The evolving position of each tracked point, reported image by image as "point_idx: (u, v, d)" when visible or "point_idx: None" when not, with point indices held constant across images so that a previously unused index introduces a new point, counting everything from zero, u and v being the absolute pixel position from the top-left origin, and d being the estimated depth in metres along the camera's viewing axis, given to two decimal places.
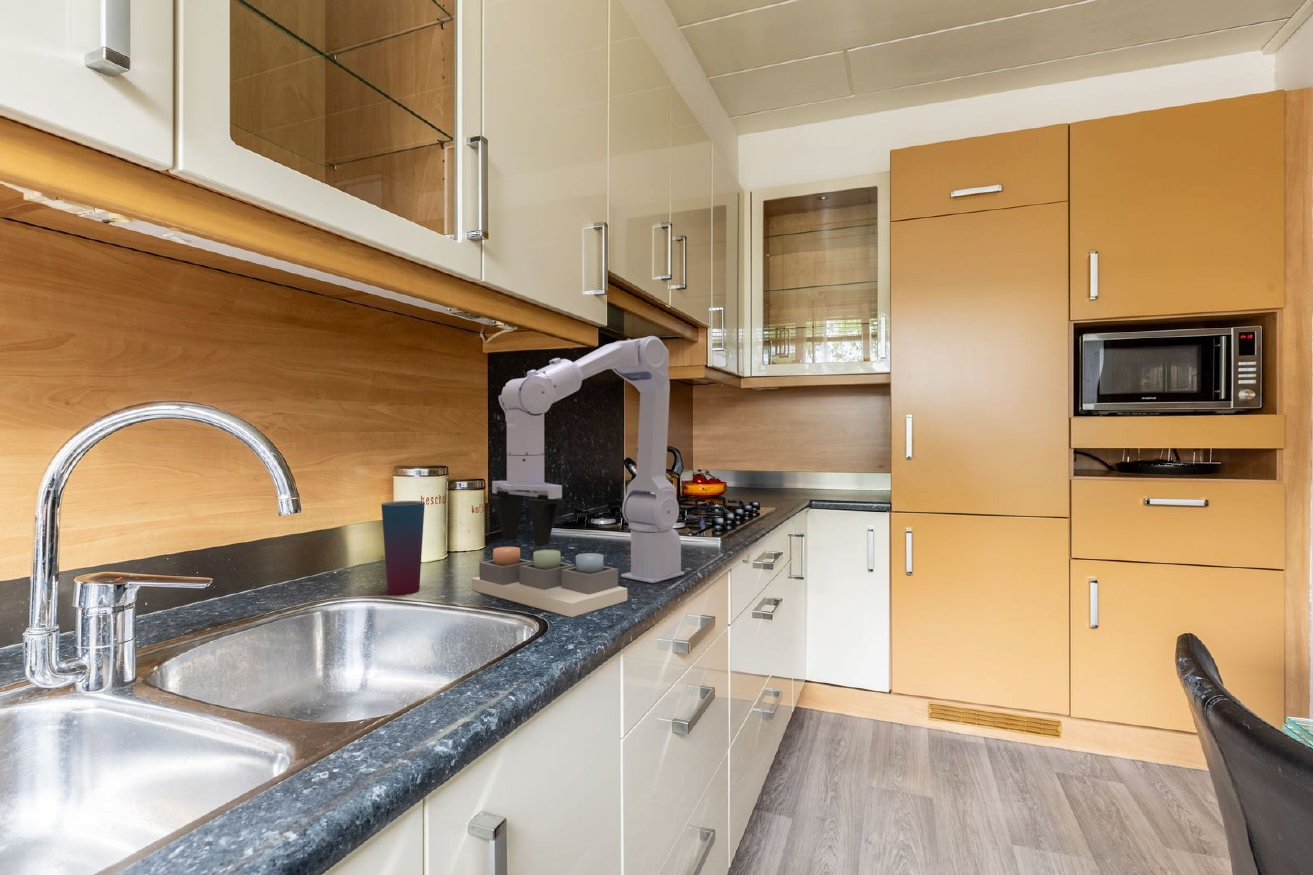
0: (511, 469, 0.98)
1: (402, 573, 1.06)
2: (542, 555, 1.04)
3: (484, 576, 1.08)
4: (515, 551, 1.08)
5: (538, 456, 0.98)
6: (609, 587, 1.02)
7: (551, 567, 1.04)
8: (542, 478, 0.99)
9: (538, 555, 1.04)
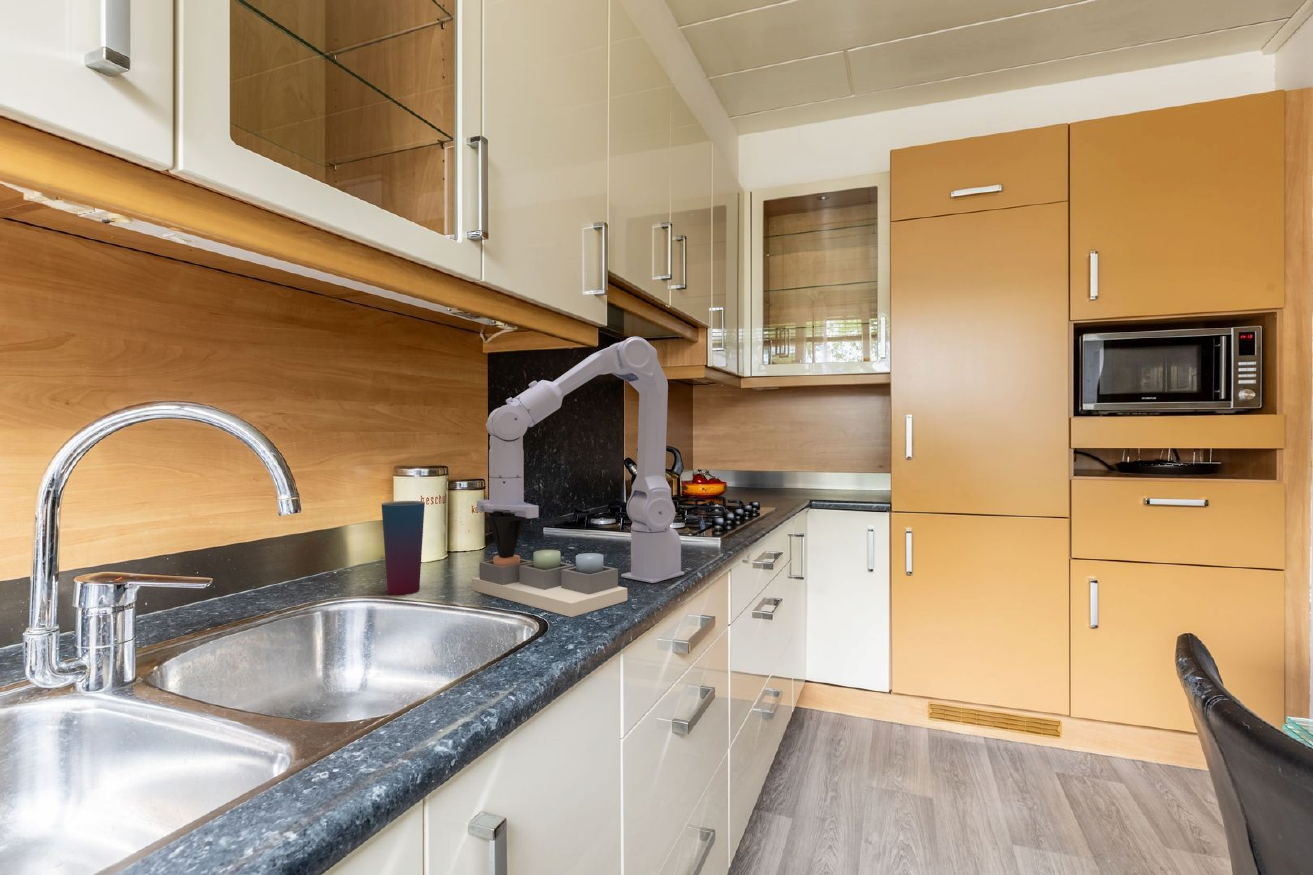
0: (492, 491, 1.07)
1: (402, 573, 1.06)
2: (542, 555, 1.04)
3: (484, 576, 1.08)
4: (515, 559, 1.08)
5: (517, 478, 1.07)
6: (609, 587, 1.02)
7: (551, 567, 1.04)
8: (521, 498, 1.08)
9: (538, 555, 1.04)
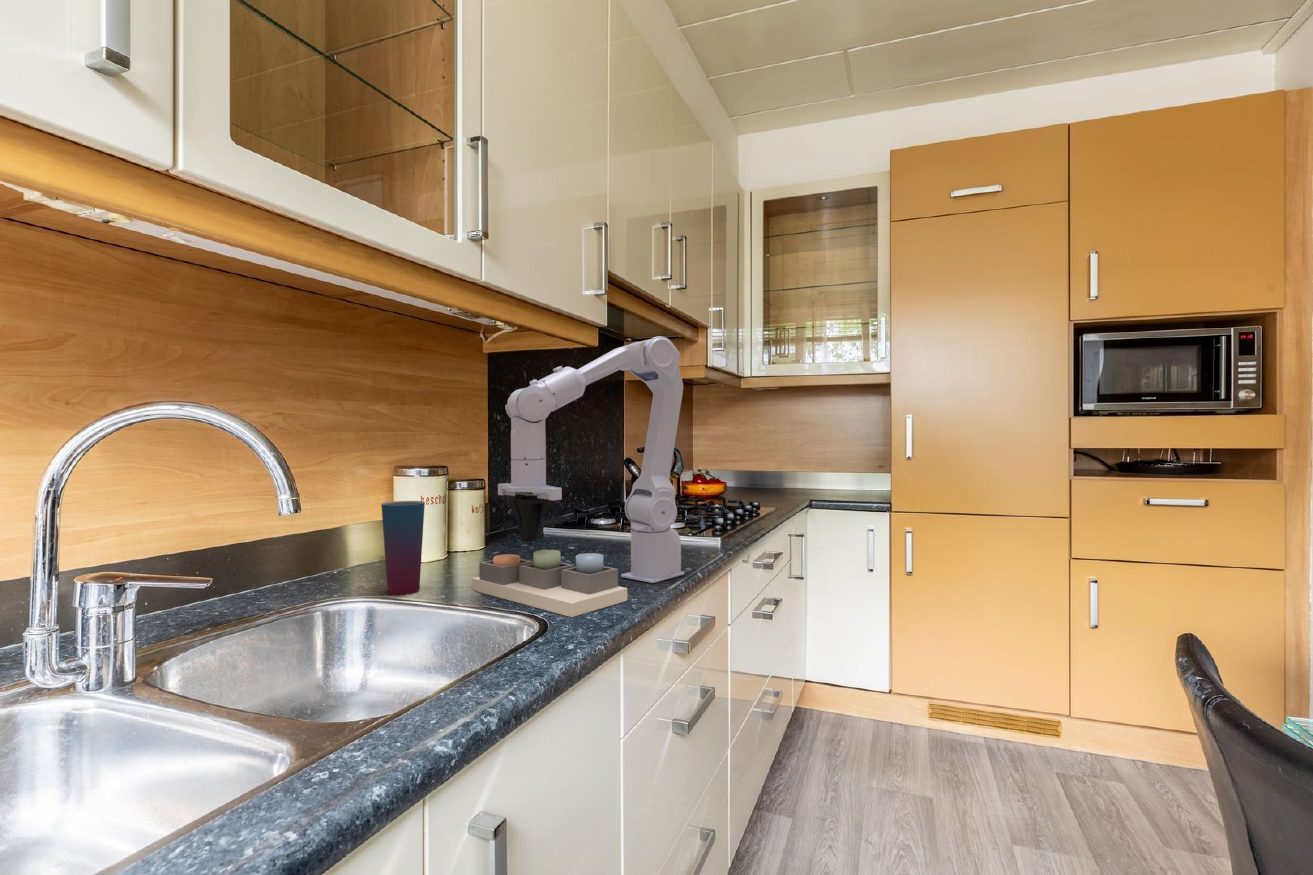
0: (514, 473, 1.05)
1: (402, 573, 1.06)
2: (542, 555, 1.04)
3: (484, 576, 1.08)
4: (515, 559, 1.08)
5: (540, 460, 1.06)
6: (609, 587, 1.02)
7: (551, 567, 1.04)
8: (544, 481, 1.07)
9: (538, 555, 1.04)
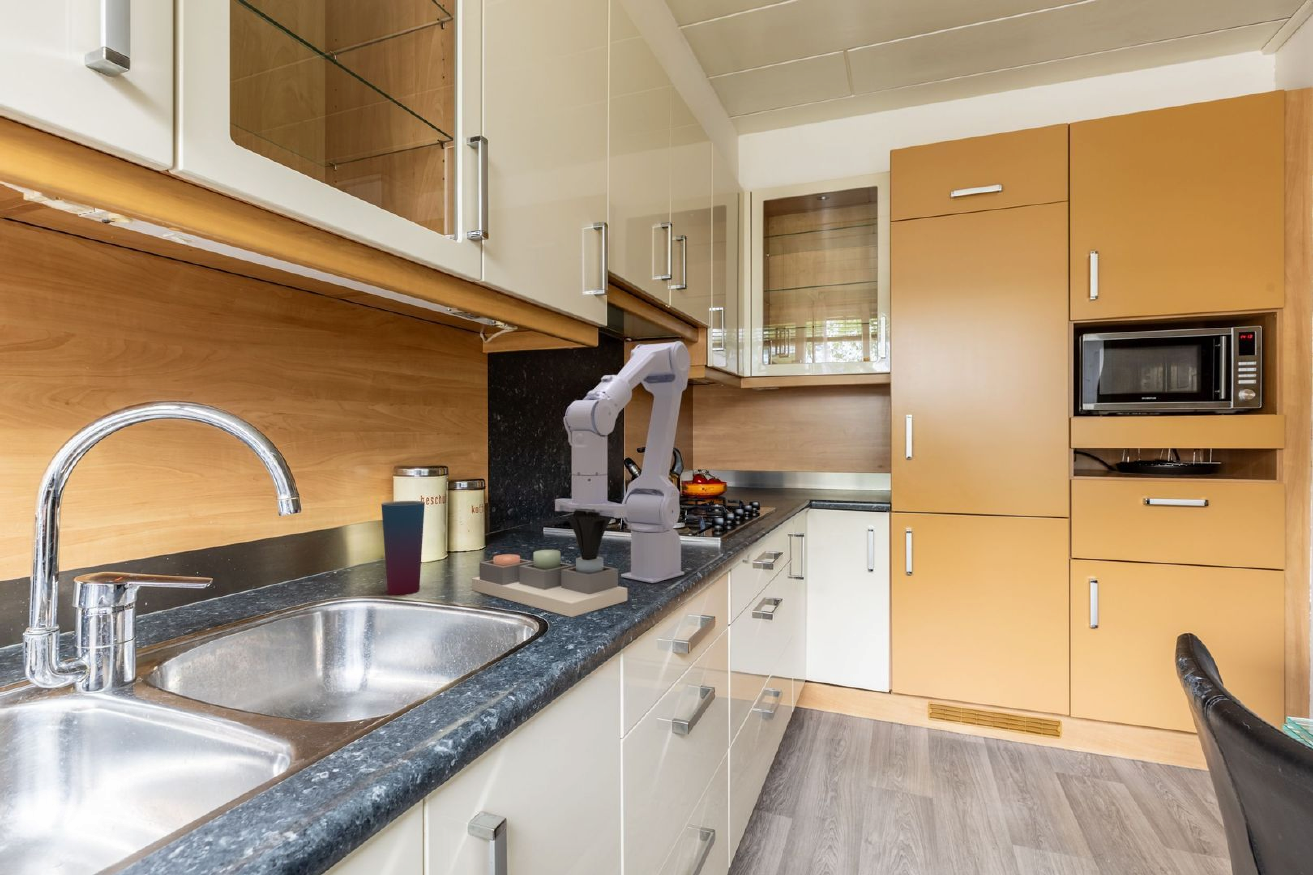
0: (576, 489, 1.01)
1: (402, 573, 1.06)
2: (542, 555, 1.04)
3: (484, 576, 1.08)
4: (515, 559, 1.08)
5: (602, 476, 1.01)
6: (609, 587, 1.02)
7: (551, 567, 1.04)
8: (606, 497, 1.02)
9: (538, 555, 1.04)
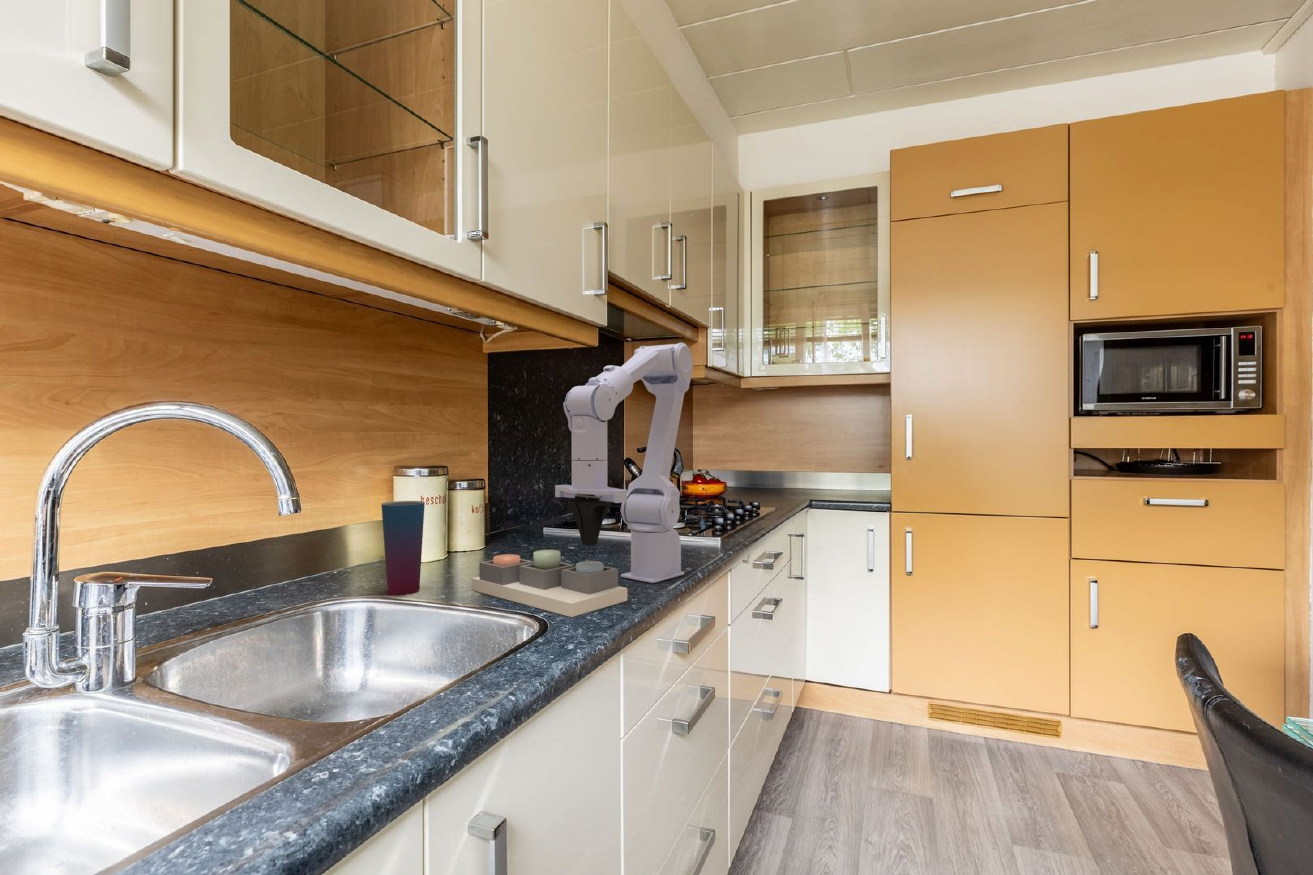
0: (576, 474, 1.01)
1: (402, 573, 1.06)
2: (542, 555, 1.04)
3: (484, 576, 1.08)
4: (515, 559, 1.08)
5: (602, 461, 1.01)
6: (609, 587, 1.02)
7: (551, 567, 1.04)
8: (606, 482, 1.02)
9: (538, 555, 1.04)
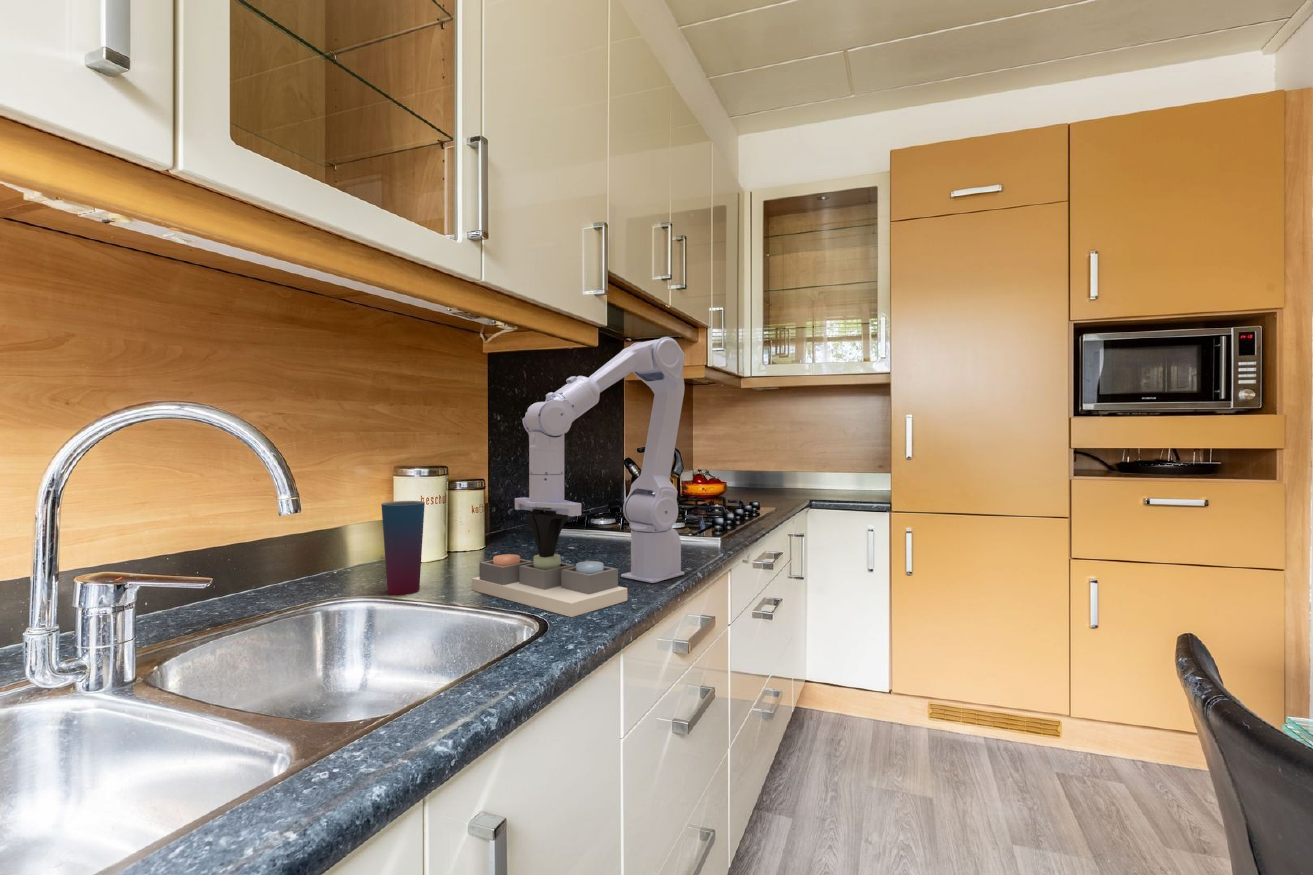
0: (533, 488, 1.04)
1: (402, 573, 1.06)
2: (542, 559, 1.04)
3: (484, 576, 1.08)
4: (515, 559, 1.08)
5: (559, 475, 1.04)
6: (609, 587, 1.02)
7: None
8: (562, 496, 1.05)
9: (538, 559, 1.04)
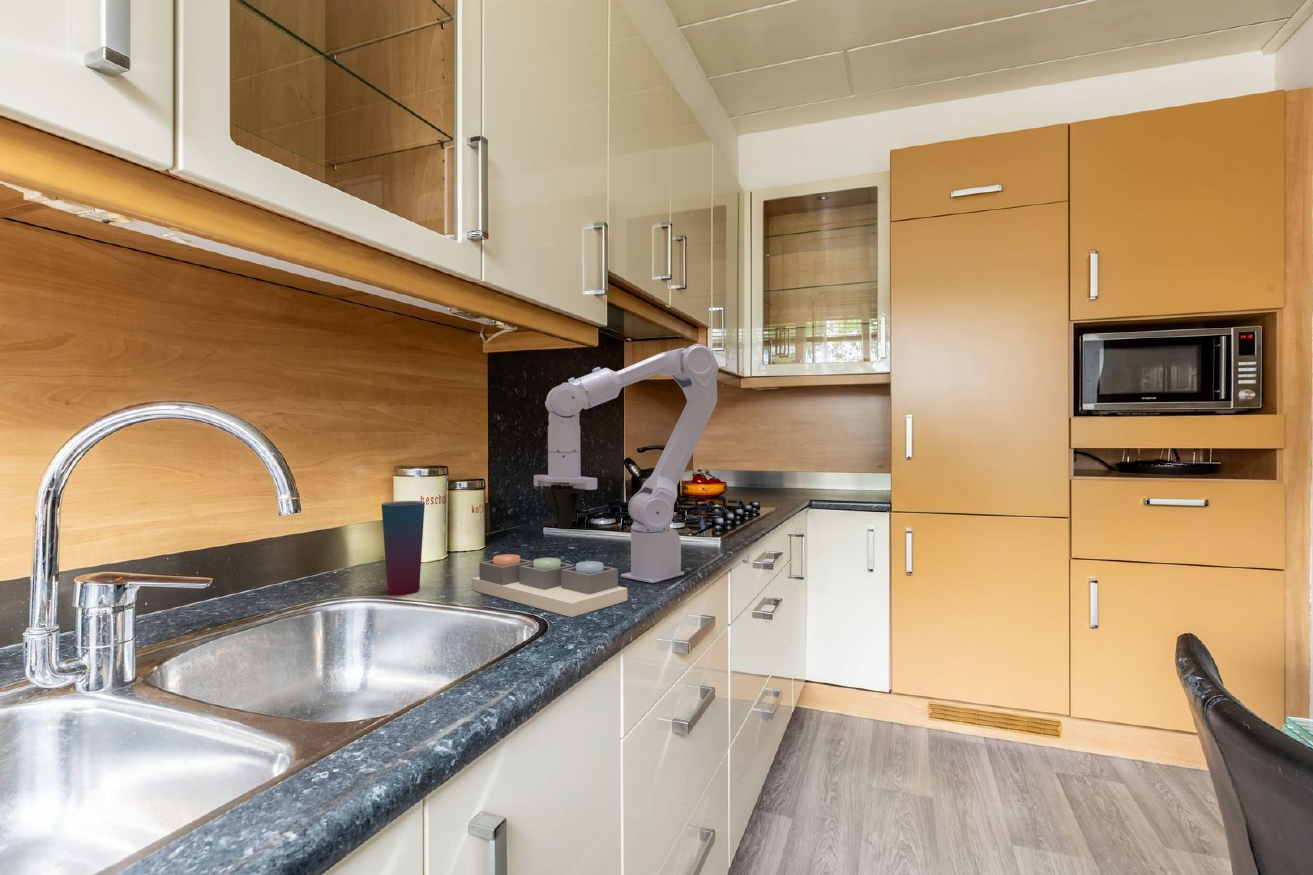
0: (552, 464, 1.12)
1: (402, 573, 1.06)
2: (542, 563, 1.04)
3: (484, 576, 1.08)
4: (515, 559, 1.08)
5: (576, 453, 1.13)
6: (609, 587, 1.02)
7: None
8: (579, 472, 1.14)
9: (538, 563, 1.04)
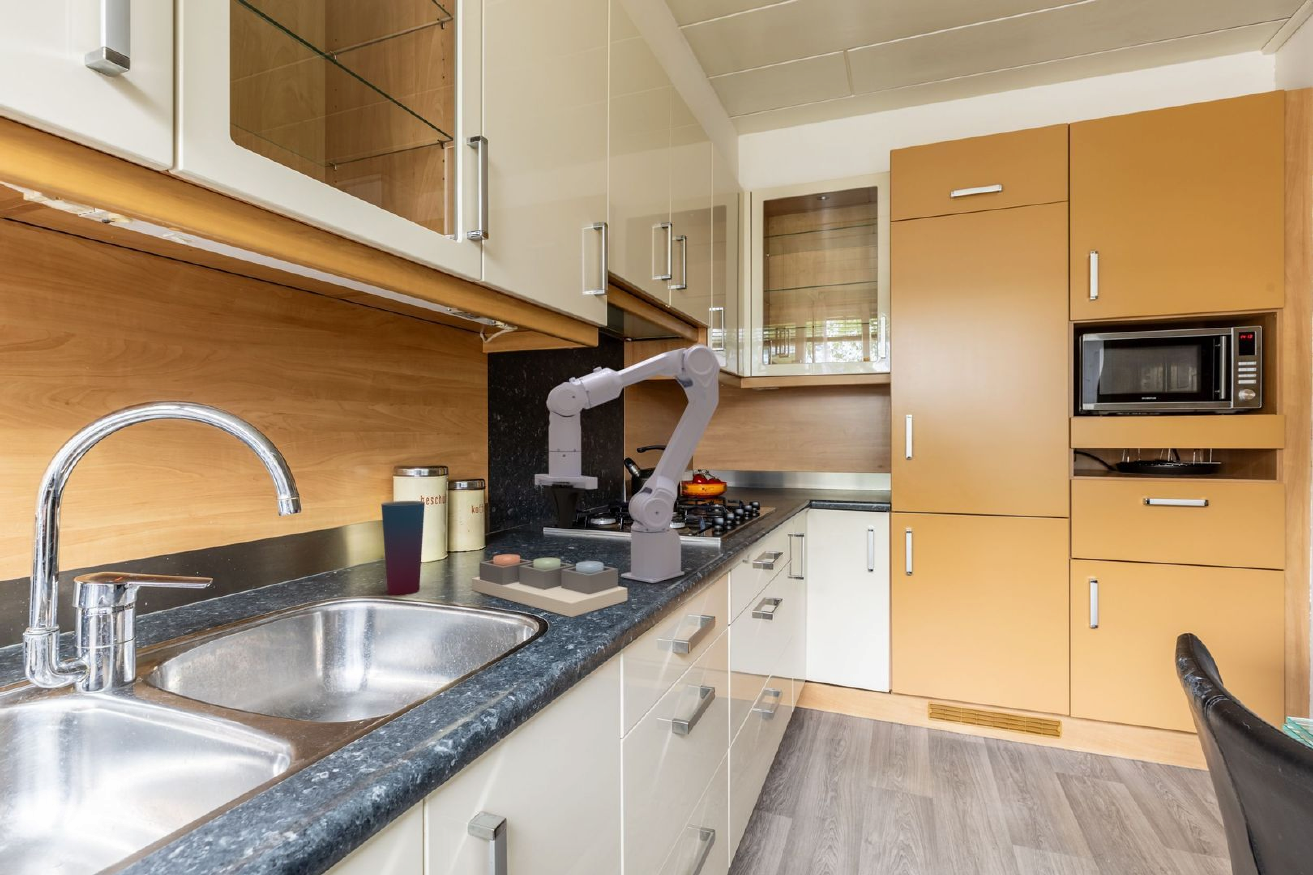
0: (553, 464, 1.13)
1: (402, 573, 1.06)
2: (542, 563, 1.04)
3: (484, 576, 1.08)
4: (515, 559, 1.08)
5: (576, 452, 1.13)
6: (609, 587, 1.02)
7: None
8: (579, 471, 1.14)
9: (538, 563, 1.04)
